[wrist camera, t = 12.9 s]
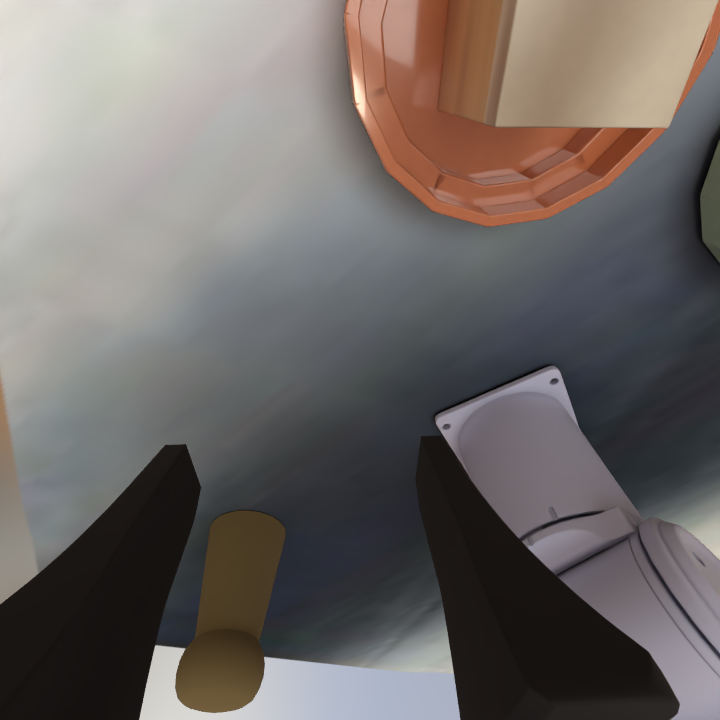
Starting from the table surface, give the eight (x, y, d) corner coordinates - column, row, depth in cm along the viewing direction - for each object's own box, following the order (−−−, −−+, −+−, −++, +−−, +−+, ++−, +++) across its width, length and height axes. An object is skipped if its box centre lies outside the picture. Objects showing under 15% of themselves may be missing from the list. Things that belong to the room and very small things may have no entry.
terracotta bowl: (684, 110, 17) (744, 115, 14) (424, 252, 20) (437, 276, 17) (651, -354, 10) (748, -487, 8) (280, -46, 13) (267, -74, 11)
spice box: (588, -49, 13) (776, -147, 8) (550, 111, 16) (669, 128, 10) (453, -52, 13) (543, -155, 7) (437, 111, 16) (494, 127, 10)
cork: (238, 500, 30) (196, 681, 21) (301, 530, 32) (287, 702, 23) (194, 535, 32) (139, 712, 23) (256, 560, 35) (228, 728, 26)
